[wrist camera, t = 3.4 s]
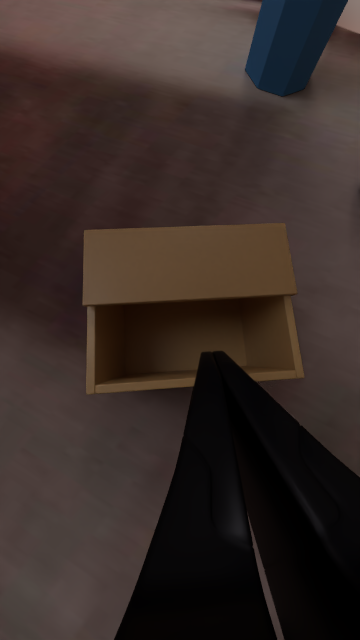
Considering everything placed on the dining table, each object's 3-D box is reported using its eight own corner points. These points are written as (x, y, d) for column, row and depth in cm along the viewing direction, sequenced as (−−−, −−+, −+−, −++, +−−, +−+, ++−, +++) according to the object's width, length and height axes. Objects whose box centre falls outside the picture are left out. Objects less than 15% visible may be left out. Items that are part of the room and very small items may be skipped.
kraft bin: (120, 283, 22) (88, 236, 14) (238, 277, 23) (279, 229, 14) (121, 379, 20) (85, 394, 12) (250, 369, 21) (304, 377, 12)
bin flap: (86, 233, 13) (83, 229, 13) (281, 226, 14) (285, 222, 13) (85, 306, 12) (82, 305, 12) (293, 295, 13) (297, 293, 13)
